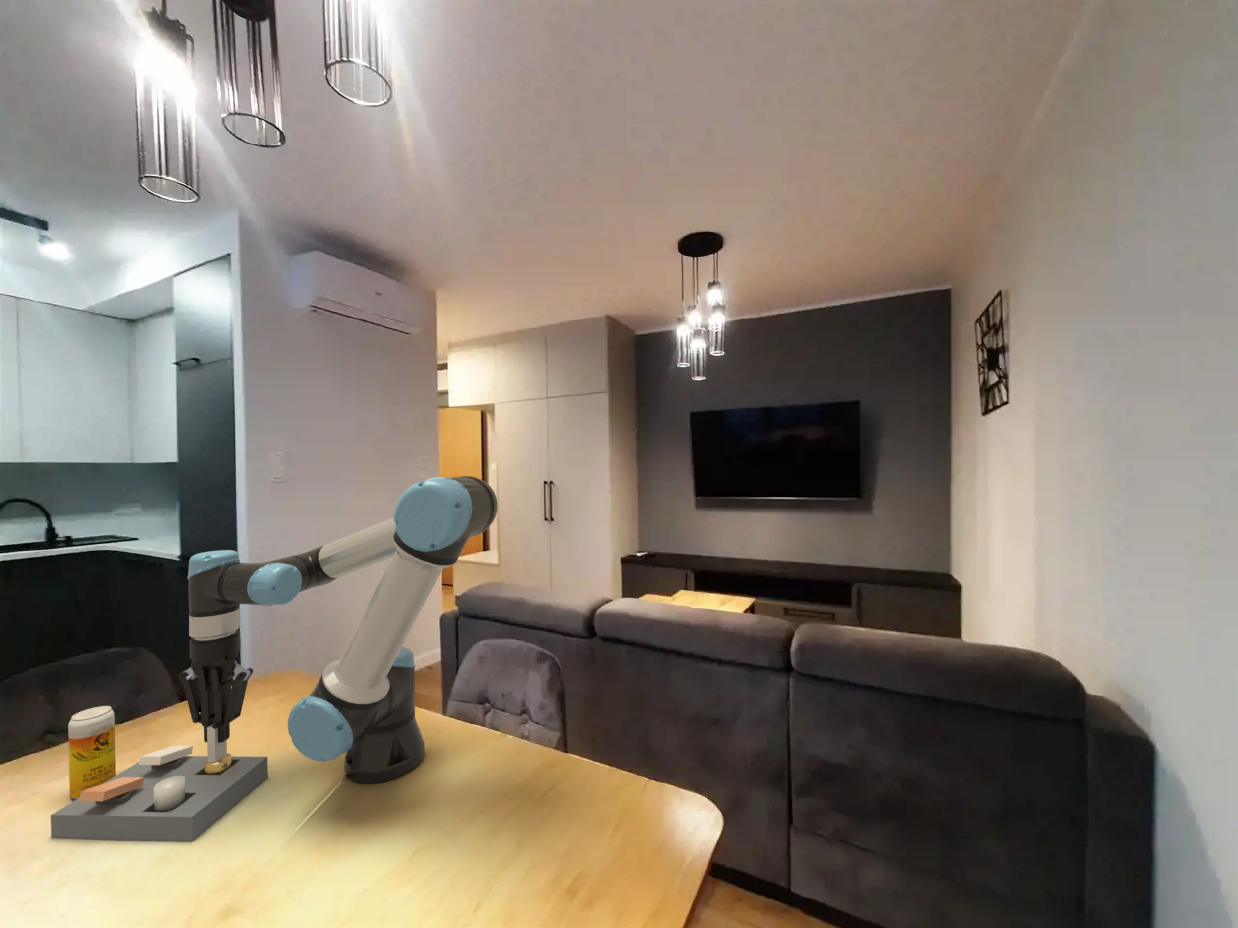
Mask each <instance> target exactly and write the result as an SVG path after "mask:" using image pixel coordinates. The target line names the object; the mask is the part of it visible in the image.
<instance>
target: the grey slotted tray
mask: <svg viewBox="0 0 1238 928" xmlns="http://www.w3.org/2000/svg"><path fill="white" fill-rule="evenodd" d="M207 759H208V756H207V755H202V756H201V755H197V756H196V755H187V756H184V757H181V758H179V759H176V760H173V761H170V762H167V763H164V764H161V765H139V761H138V762H136V763H134V764H133V765H131V766H130V767H128V768H126V769H125V770H124V771H121V772H120V773H118V774H116V776H115V777H113V778H111V779H110V780H108V781H106V782H105V783H107V782H110V781H113V780H116V779H119V778H121V777H144V782H143V786H142V787H139V788H136V789H134V790H131V791H128V792H126V793H123V794H121V795H118V796H115V797H113V798H110V799H107V800H105V801H79V800H80V798H78V799H77V800H75V799H74V801H72V802H70V803H68V804H67V805H65V806H63V807H62V808H60V809H59V810H56V811H55V812H53V813H52V814H50V839H57V840H58V839H61V840H66V839H67V840H90V841H92V840H93V841H131V842H133V841H135V842H137V841H138V842H139V841H140V842H141V841H142V842H146V841H147V842H194V841H195V840H196V839H197V838H198V837H200V836H201V835H202V834H203V833H204V832H205V831H207V830H208V829H209V828H210V827H211V826H212V825H214V824H215V822H217V821H218V820H219V819H220V818H222V817H223V816H224V815H225V814H226V813H227V812H229V811H230V810H231V809H232V808H233V807H235V806H236V805H237V804H238V803H240V801H242V800H243V799H244V798H245V797H247V796H248V795H249V794H250V793H251V792H252V791H253V790H254V789H256V788H257V787H258V786H259V785H261V784H262V783H263V781H266V780H267V779H268V776H269V775H268V756H232V755H231V767H230V768H229V769H228V770H227V771H225V772H224V773H223V774H221V775H205V771H204V763H205V761H206V760H207ZM173 776H184V777H185V800H184V802H183V803H181V804H180V805H178V806H176V807H174V808H172V809H169V810H166V811H155V810H154V786H155V785H156V784H157V783H159V782H160V781H162V780H164V779H167V778H170V777H173ZM103 784H104V783H103Z"/></svg>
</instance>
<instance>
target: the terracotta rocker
mask: <svg viewBox="0 0 1238 928" xmlns="http://www.w3.org/2000/svg"><path fill="white" fill-rule="evenodd" d="M143 782H144V777H121V778H119V779H116V780H113V781H110V782H107V783H104V784H101V785H98V786H95V787H93V788H90V789H87V790H84V791H81V795H80V800H79V801H105V800H107V799H110V798H113V797H115V796H118V795H121V794H123V793H126V792H128V791H131V790H134V789H136V788H139V787H142V786H143Z"/></svg>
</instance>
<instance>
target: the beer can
mask: <svg viewBox="0 0 1238 928" xmlns="http://www.w3.org/2000/svg"><path fill="white" fill-rule="evenodd" d="M115 715H116V714H115V712H114V710H113V709H112V706H110V705H102V706H96V707H91V708H88V709H85V710H84V709H83V710H81V711H79V712H76V713H75V714H73V715H72V716H71V718H70V721H69V722H68V726H67V728H68V731H67V732H68V775H69V797H70V798H72V799H74V800H75V799H78V798H80V795H81V791H84V790H87V789H90V788H93V787H95V786H98V785H101V784H103V783H105V782H106V781H108V780H110V779H111V778H113V777H115V776H116V775H117V773H116V771H117V770H116V769H117V767H116V765H117V764H116V761H117V760H116V729H115V728H116V724H115V721H116V719H115Z"/></svg>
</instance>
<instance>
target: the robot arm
mask: <svg viewBox="0 0 1238 928" xmlns="http://www.w3.org/2000/svg"><path fill="white" fill-rule="evenodd" d="M394 507H395V508H394V511H393V516H392V518H391V517H390V518H389V519H386V520H384V521H381V522H379V523H376V524H373V525H371V526H369V527H366V528H364V529H361V530H359V531H356V532H354V533H352V534H349V535H345V536H344V537H342V538H339V539H336V540H334V541H332V542H330V543H329V542H328V543H326V544H324V545H322V546H319V547H316V548H314V549H311V550H309V551H306V552H303V553H299V554H295V555H291V556H287V557H286V556H285V557H282V558H278V559H274V560H269V561H265V562H255V563H254V562H249V563H248V562H241V559H240V556H239V552H237V551H236V550H231V549H225V550H224V549H222V550H211V551H205V552H198V553H196V554H194V555H192V556H191V557H190V559H189V561H188V572H187V577H186V578H187V580H188V583H187V584H188V585H187V586H188V608H189V609H188V611H189V612H188V615H189V616H188V618H189V619H188V620H189V623H188V626H189V627H188V636H189V637H191V638H190V640H189V658H190V660H192V662H191V664H190V667H189V668H188V669H186V670H183V671H181V672H179V673H178V675H177V678H178V679H179V680H180V683H181V684H182V685H183V689H184V693H185V697H186V702H187V705H188V709H189V713H190V717H191V721H192V723H193V724H197V723H198V724H201V726H202V727H203V740H204V743H206V744H207V745H206V747H207V755H206V756H208V762H217V761H218V760H219V759H221V758H222V757H224V756H225V755H226V754H227V753H228V747H227V746H228V745H227V741H228V740H229V738H230V737H231V731H230V729H231V727H230V726H231V725H230V723H232V722H233V721H235V720H236V719H238V718H239V717H240V716H241V715H242V710H243V705H244V702H245V701H244V700H245V695H246V691H247V688H248V687H247V686H248V683H249V680H250V678H251V677H252V675H253V673H254V669H253V668H252V667H249V668H245V667H244V666H242V665H241V660H240V658H239V652H240V649H241V632H240V631H239V630H238V629H239V628H240V627H241V626H240V624H241V622H240V619H241V618H240V605H249V606H250V605H253V606H262V607H264V606H265V607H272V606H283V605H286V604H289V603H290V602H292V601H293V600H294V598H295V597H297V596H298V595H299V593H302V592H304V591H309V590H311V589H313V588H317V587H321V586H324V585H327V584H330V583H331V582H333V581H335V580H337V579H339V578H342V577H345V576H347V575H349V574H353V573H354V572H355V573H356V572H358V571H360V570H362V569H365V568H368V567H370V566H373V565H376V564H378V563H381V562H384V561H386V560H388V559H389V560H390V559H391V560H390V561H389V563H388V565H387V566H386V569H385V571H384V573H383V575H382V577H381V579H380V580H379V582H378V583H377V584H378V585H377V587H376V589H375V590H374V592H373V593H372V596H371V598H370V600H369V601H368V603H367V606H366V608H365V609H364V611H363V614H362V616H361V617H360V619H359V621H358V623H357V625H356V627H355V629H354V631H353V633H352V634H351V637H350V639H349V640H348V642H347V645H346V647H345V648H344V650H343V652H342V654H341V655H340V658H339V659H336V660H334V661H332V662H330V663H329V664H328V665H327V666H326V667H324V670H323V672H322V673H321V675H320V677H319V679H318V681H317V683H316V685H315V687H314V689H313V691H311V693H309V695H307V696H305V697H302V698H301V699H300V700H298V702H297V703H296V704H295V705H294V706H293V707H292V708H291V710H290V711H289V715H288V717H287V732H288V735H289V736H290V738H291V742H292V744H293V746H294V747H295V748H296V750H298V752H299V753H300V754H301V755H303V756H304V757H306V758H308V759H310V760H311V761H316V762H320V763H323V762H330V761H334V760H336V759H337V758H339V757H341V755H343V754H345V753H346V754H345V756H344V757H345V758H344V771H345V776H346V778H347V779H349V780H351V781H352V782H355V783H361V784H373V783H374V784H376V783H380V782H381V783H383V782H386V781H389V780H390V781H391V780H393V779H397V778H398V777H401V776H402V775H405V774H407V773H409V772H411V771H412V770H414V769H415V768H416V767H417V766H419V764H420V763H421V762H422V761H423V759H424V758H425V754H426V753H425V740H424V737H423V734H422V732H421V729H420V727H419V723H418V721H417V719H416V690H415V689H416V681H415V679H416V677H415V673H416V672H415V671H416V670H415V668H416V665H415V657H414V652H413V651H412V650H411V649H409V648H408V647H403V646H404V643H405V641H406V640H407V638H408V636H409V634H410V632H411V630H412V629H413V626H415V625H414V624H415V623H416V621H417V620H418V617H419V615H420V613H421V612H422V609H423V607H424V605H425V603H426V602H427V599H428V598H429V596H430V594H431V592H432V590H433V588H434V587H435V585H436V582H437V581H438V580H439V577H440V575H441V574H442V571H443V569H446V568H449V567H453V566H454V565H455V564H457V561H458V559H459V557H460V556H461V554H462V552H463V550H464V548H465V546H466V544H467V542H468V541H469V539H470V538H473V537H475V536H478V535H480V534H482V533H484V532H485V531H486V530H488V529H489V528H490V527H491V526H492V524H493V523H494V521H495V519H496V517H497V514H498V508H499V505H498V499H497V495H496V493H495V491H494V489H493V488H492V487H491V485H490V484H489V483H487V482H486V481H485V480H483V479H481V478H478V477H476V476H470V475H468V476H467V475H466V476H465V475H464V476H456V477H454V476H453V477H444V476H437V477H432V478H427V479H425V480H421V481H419V482H416V483H414V484H412V485H411V486H410V487H408V488H407V489H406V490H405V491H404V492H403V493H402V494H401V496H400V497H399V499H398V500H397V502H396V505H395V506H394Z"/></svg>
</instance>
